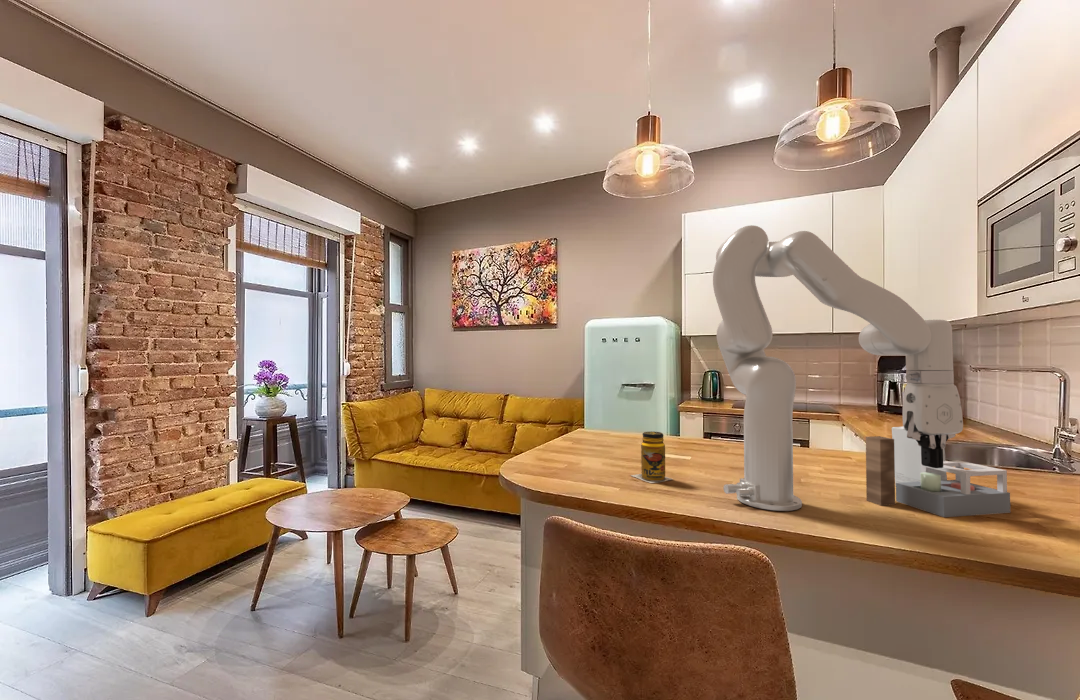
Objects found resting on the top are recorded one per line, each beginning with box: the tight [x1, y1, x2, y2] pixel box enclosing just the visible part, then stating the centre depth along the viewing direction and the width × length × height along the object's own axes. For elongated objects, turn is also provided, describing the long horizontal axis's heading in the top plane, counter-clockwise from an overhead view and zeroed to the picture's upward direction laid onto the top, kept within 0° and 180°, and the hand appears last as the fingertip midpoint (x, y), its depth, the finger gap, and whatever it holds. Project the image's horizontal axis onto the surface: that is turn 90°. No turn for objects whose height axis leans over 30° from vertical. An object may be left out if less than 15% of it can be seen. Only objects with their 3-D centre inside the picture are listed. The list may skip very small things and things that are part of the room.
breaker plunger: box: [951, 483, 974, 491], centre depth 95 cm, size 4×4×3 cm
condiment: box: [630, 431, 673, 484], centre depth 118 cm, size 7×8×12 cm
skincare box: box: [891, 425, 948, 487], centre depth 106 cm, size 8×6×15 cm
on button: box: [921, 472, 941, 492], centre depth 94 cm, size 3×3×4 cm
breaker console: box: [895, 460, 1011, 518], centre depth 95 cm, size 16×10×8 cm, turn 99°
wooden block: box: [865, 435, 896, 507], centre depth 98 cm, size 4×4×14 cm
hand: (932, 466), depth 94 cm, fingers closed
